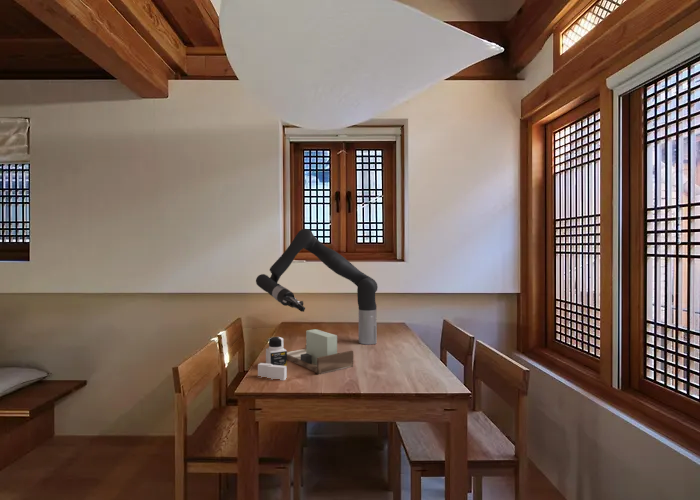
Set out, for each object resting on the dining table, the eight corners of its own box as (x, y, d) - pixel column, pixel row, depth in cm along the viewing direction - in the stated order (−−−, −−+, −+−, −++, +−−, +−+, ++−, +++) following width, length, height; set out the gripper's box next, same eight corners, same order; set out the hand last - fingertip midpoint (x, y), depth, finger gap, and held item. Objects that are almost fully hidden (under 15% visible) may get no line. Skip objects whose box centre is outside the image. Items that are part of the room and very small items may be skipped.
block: (306, 360, 185) (306, 330, 185) (315, 358, 188) (315, 329, 188) (327, 368, 173) (327, 337, 172) (337, 366, 176) (337, 335, 175)
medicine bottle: (270, 369, 174) (270, 340, 173) (265, 365, 180) (265, 336, 180) (287, 367, 177) (287, 338, 177) (281, 362, 183) (281, 335, 183)
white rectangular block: (294, 380, 161) (294, 365, 161) (267, 387, 154) (267, 371, 154) (276, 370, 173) (276, 357, 173) (250, 376, 166) (250, 361, 166)
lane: (275, 355, 195) (275, 341, 195) (307, 349, 206) (307, 336, 205) (318, 374, 167) (318, 358, 167) (353, 366, 178) (353, 351, 177)
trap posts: (300, 363, 180) (300, 354, 180) (329, 357, 189) (329, 348, 189) (305, 366, 177) (305, 356, 177) (334, 359, 186) (334, 350, 186)
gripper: (275, 286, 206) (296, 300, 194) (295, 290, 215) (316, 304, 204) (269, 300, 206) (290, 315, 195) (290, 303, 216) (310, 318, 204)
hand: (303, 309), depth 199 cm, fingers closed
